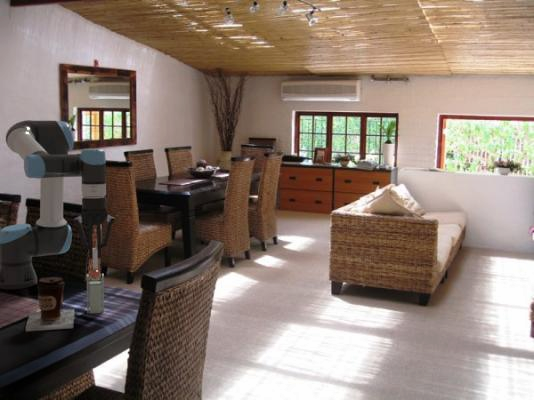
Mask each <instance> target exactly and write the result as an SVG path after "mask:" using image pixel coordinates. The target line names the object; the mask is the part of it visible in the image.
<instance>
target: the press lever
mask: <svg viewBox="0 0 534 400" xmlns="http://www.w3.org/2000/svg"><path fill="white" fill-rule="evenodd" d="M89 282H102V273H101V272H100V271H99V270H98V269H92V271H91V272H90V274H89Z"/></svg>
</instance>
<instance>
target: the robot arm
mask: <svg viewBox="0 0 534 400" xmlns="http://www.w3.org/2000/svg"><path fill="white" fill-rule="evenodd" d="M5 143H6V145H7V147H8V148H9V150H10V151H12V152H13V153H15V154H18V155H19V156H20V158H22V160H23V170H24V171H23V172H24V174H25V176H26V177H27V178H28V179H37V180H39V179H40V180H39V181H40V189H39V190H40V195H39V196H40V197H39V199H40V200H39V201H40V204H39V205H40V207H39V213H40V214H39V216H40V217H39V219H37V220H36V222H35V226H33V227H32V226H31V224H29V223H18V224H17V223H16V224H12V225H7V226H6V227H3V228H1V229H0V289H1V290H21V289H22V290H23V289H27V288H31V287H34V286H36V285H37V284H38V277H37V273H36V271H35V269H34V266H33V263H32V262H33V260H32V258H33V257H43V256H52V255H60V254H65V253H67V252H68V251H69V250H70V248H71V244H72V237H73V234H72V228H71V226H70V225H69V224H68V221H67V220H66V219H65V218H64V178H74V177H75V178H77V177H81V196H82V198H81V213H80V215H79V216H77V217H75V218H74V219H73V222H74V224H75V225H76V227H77V229H78V233H79V236H80V240H81V244H82V247H83V248H84V249H88V258H89V259H90V260H91V259H92V270H98V269H99V266H98V265H99V264H98V263H99V260H98V259H101V258H102V249H103V248H106V247H107V246H108V243H109V236H110V233H111V229H112V225H113V224H114V222H115V220H116V219H115V217H113V216H111V215H110V214H109V212H108V210H107V198H106V197H105V196H106V195H107V178H106V177H107V175H106V173H107V171H106V169H107V167H106V162H107V158H106V152H105V150H104V149H102V148H84V149H82V150H81V151H80V153H74V154H73V153H72V154H70V153H69V152H71V151H72V150H74V145H75V144H74V136H73V131H72V128H71V126H70V125H69V124H68V122H66V121H62V120H22V121H19V122H17V123H15V124H13V125H12V126H11V127H9V129H8V130H7V132H6V134H5ZM105 220H106V222H107V225H106V230H105V234H104V237H103V241H102V230H101V229H102V228H101V226H102V224H103V223H104V222H105ZM83 221H84V223H86V224H87V226H88V243H87V239H86V235H85V232H84V229H83V225H82V223H83ZM93 226H96V243H97V245H96V247H94V243H93V241H94V237H93V236H94V235H93V232H94V231H93V228H94V227H93Z"/></svg>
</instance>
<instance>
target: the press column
mask: <svg viewBox="0 0 534 400" xmlns="http://www.w3.org/2000/svg"><path fill="white" fill-rule="evenodd" d="M86 310H87V311H86V314H102V313H105V275H104V273H101V281H92V282H90V274H89V273H87V274H86Z"/></svg>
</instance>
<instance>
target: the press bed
mask: <svg viewBox="0 0 534 400" xmlns="http://www.w3.org/2000/svg"><path fill="white" fill-rule="evenodd" d="M60 314H61V318H59V319H55V320H44V319H41V310H39V311H30V313H29V316H28V318H27V322H26V325H25V332H36V331H37V332H39V331H51V330H64V329H73V328H74V322H75V309H74V308H73V309H60Z"/></svg>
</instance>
